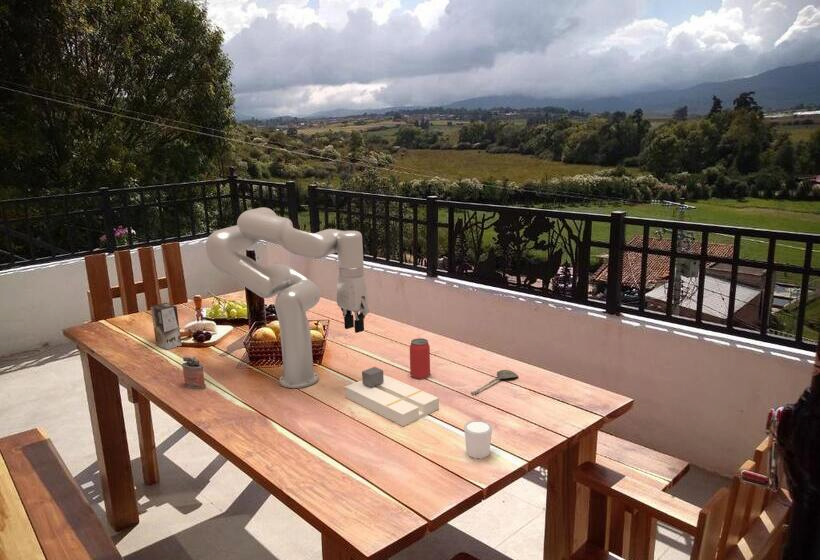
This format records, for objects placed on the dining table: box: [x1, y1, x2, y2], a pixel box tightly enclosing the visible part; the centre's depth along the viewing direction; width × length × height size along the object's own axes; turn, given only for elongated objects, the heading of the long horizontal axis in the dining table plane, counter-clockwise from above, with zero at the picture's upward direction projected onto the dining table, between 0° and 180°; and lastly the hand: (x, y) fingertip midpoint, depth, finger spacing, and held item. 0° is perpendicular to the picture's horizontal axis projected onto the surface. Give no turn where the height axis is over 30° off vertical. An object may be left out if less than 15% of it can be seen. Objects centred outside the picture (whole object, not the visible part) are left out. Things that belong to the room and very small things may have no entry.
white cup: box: [463, 420, 493, 459], centre depth 139 cm, size 7×7×7 cm
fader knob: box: [361, 366, 384, 387], centre depth 172 cm, size 4×5×6 cm
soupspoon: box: [470, 369, 519, 397], centre depth 178 cm, size 22×3×7 cm
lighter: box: [181, 356, 207, 390], centre depth 181 cm, size 8×3×10 cm, turn 65°
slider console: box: [344, 373, 440, 427], centre depth 167 cm, size 26×14×4 cm, turn 43°
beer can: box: [409, 337, 431, 380], centre depth 185 cm, size 7×7×12 cm
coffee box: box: [150, 302, 183, 351], centre depth 219 cm, size 9×6×16 cm
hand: (354, 329), depth 174 cm, fingers open, 4 cm apart
